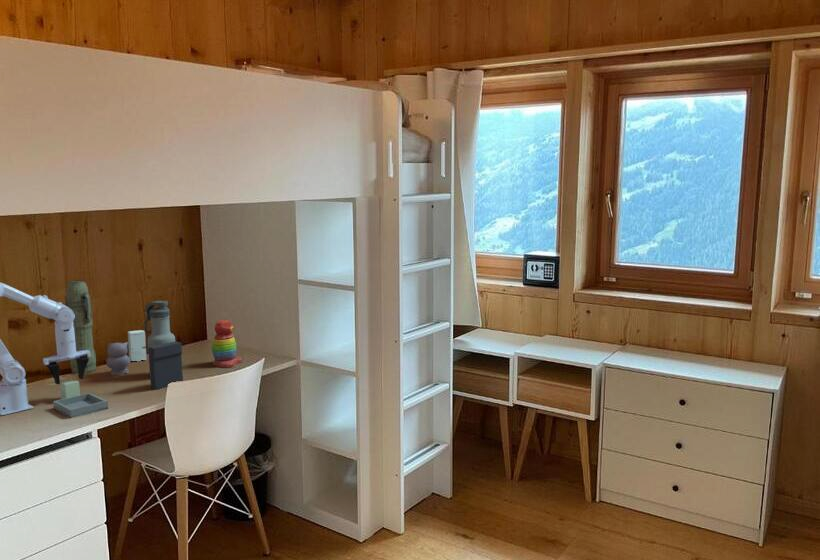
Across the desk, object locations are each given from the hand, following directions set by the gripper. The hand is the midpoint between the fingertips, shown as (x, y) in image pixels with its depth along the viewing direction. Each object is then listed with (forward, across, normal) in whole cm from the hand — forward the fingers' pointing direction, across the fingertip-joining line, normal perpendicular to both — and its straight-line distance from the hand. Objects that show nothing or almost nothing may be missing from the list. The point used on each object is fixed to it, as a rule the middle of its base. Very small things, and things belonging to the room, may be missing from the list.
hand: (69, 381), depth 232 cm
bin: (+6, -2, -13) cm, 15 cm away
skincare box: (+7, +39, +31) cm, 50 cm away
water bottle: (+7, +35, +3) cm, 36 cm away
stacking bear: (+7, +59, -2) cm, 59 cm away
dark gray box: (+7, +29, -11) cm, 32 cm away
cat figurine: (+6, +25, +18) cm, 31 cm away
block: (+6, 0, 0) cm, 6 cm away
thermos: (+6, +18, +33) cm, 38 cm away
